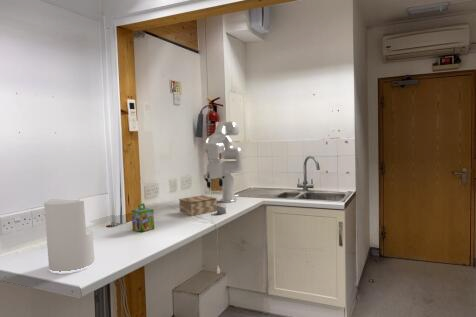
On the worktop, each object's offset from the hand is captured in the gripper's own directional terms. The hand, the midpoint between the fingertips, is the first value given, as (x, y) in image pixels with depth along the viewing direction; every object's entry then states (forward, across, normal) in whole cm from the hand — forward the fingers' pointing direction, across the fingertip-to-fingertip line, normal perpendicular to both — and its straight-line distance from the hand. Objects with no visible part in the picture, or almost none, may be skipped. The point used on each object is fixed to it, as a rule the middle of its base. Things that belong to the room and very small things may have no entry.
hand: (214, 186), depth 234 cm
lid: (+10, +6, -12) cm, 17 cm away
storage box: (+18, +6, -12) cm, 23 cm away
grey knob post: (+18, -2, +3) cm, 18 cm away
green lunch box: (+19, +53, +4) cm, 56 cm away
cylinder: (+20, +98, +38) cm, 106 cm away
